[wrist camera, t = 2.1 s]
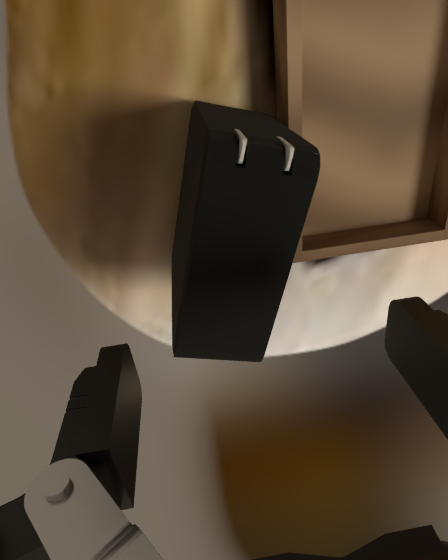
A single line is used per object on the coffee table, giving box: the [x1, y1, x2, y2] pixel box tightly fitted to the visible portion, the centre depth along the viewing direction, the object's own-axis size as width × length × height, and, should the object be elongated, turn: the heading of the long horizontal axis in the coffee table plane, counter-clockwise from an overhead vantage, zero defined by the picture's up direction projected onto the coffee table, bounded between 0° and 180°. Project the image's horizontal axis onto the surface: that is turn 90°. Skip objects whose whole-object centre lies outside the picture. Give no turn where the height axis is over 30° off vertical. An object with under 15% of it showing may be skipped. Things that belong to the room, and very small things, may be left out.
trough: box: [273, 0, 448, 263], centre depth 21 cm, size 16×10×3 cm, turn 6°
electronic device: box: [172, 101, 320, 362], centre depth 20 cm, size 4×10×10 cm, turn 169°
